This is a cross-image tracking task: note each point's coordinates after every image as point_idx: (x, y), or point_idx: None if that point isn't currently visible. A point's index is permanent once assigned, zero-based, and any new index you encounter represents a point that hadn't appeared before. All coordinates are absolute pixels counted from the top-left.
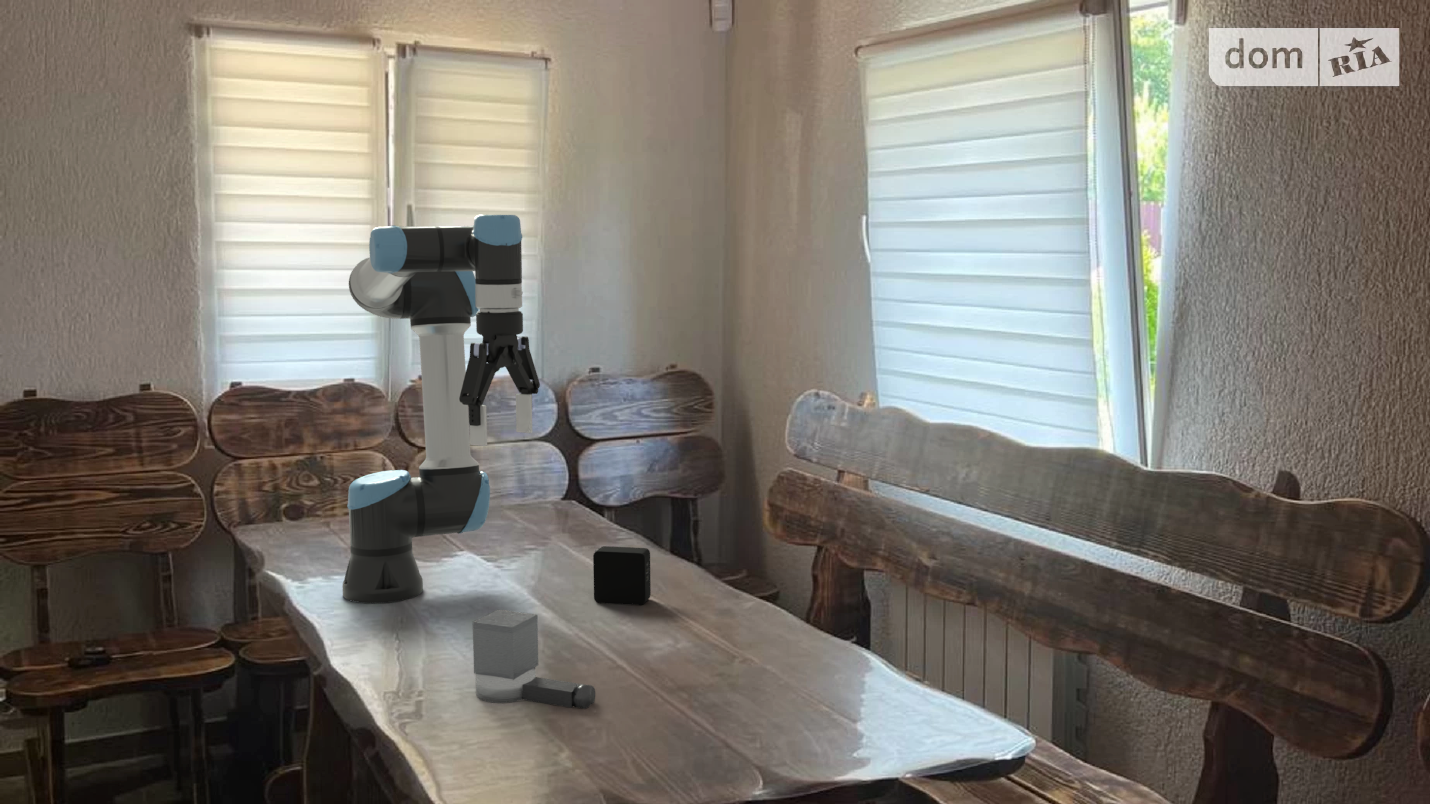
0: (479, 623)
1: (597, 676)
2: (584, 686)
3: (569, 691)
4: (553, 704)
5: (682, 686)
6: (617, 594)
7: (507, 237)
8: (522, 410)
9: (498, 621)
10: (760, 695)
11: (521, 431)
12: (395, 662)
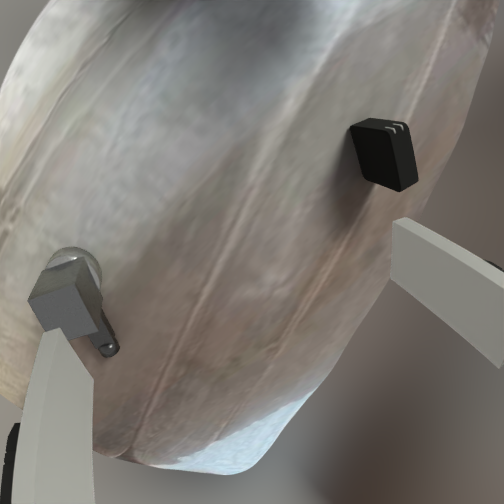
0: (32, 308)
1: (163, 302)
2: (106, 354)
3: (95, 346)
4: None
5: (194, 360)
6: (362, 152)
7: None
8: (457, 295)
9: (50, 320)
10: (216, 398)
11: (394, 246)
12: (50, 106)
